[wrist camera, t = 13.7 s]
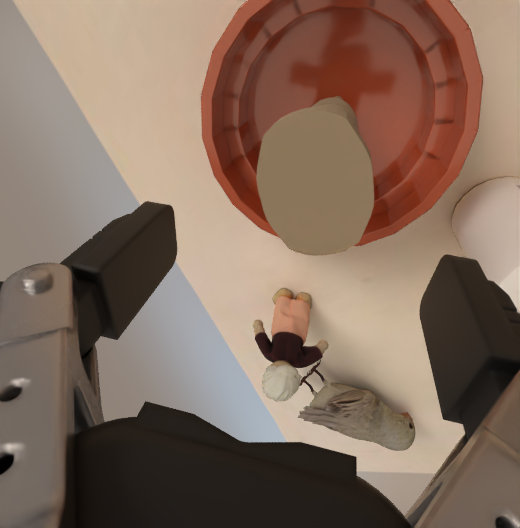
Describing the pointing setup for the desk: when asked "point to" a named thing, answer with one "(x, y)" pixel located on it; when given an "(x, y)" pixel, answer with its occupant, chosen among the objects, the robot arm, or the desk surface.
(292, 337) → the grandmother figurine
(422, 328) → the robot arm
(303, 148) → the handle
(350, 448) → the desk surface
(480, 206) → the spray bottle
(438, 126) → the bowl
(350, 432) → the decorative bird
